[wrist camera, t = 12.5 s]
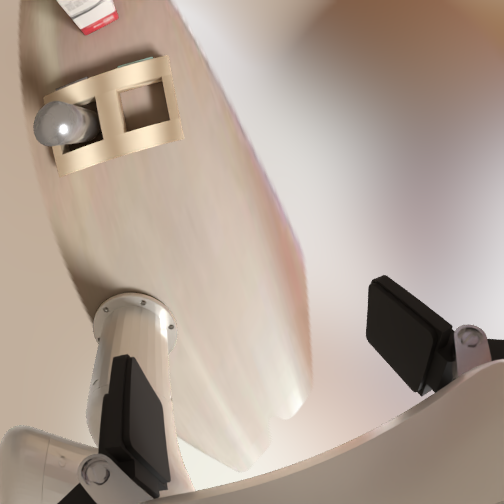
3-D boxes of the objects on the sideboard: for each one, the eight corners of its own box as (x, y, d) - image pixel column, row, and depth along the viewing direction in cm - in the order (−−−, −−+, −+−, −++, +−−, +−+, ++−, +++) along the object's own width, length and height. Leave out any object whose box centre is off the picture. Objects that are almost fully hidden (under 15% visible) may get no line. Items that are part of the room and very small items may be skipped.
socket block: (167, 59, 29) (167, 52, 26) (183, 138, 33) (184, 138, 30) (51, 97, 26) (42, 94, 23) (67, 174, 30) (59, 177, 28)
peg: (94, 146, 30) (64, 151, 20) (66, 137, 29) (28, 140, 19) (105, 114, 29) (79, 106, 19) (77, 106, 28) (42, 96, 18)
